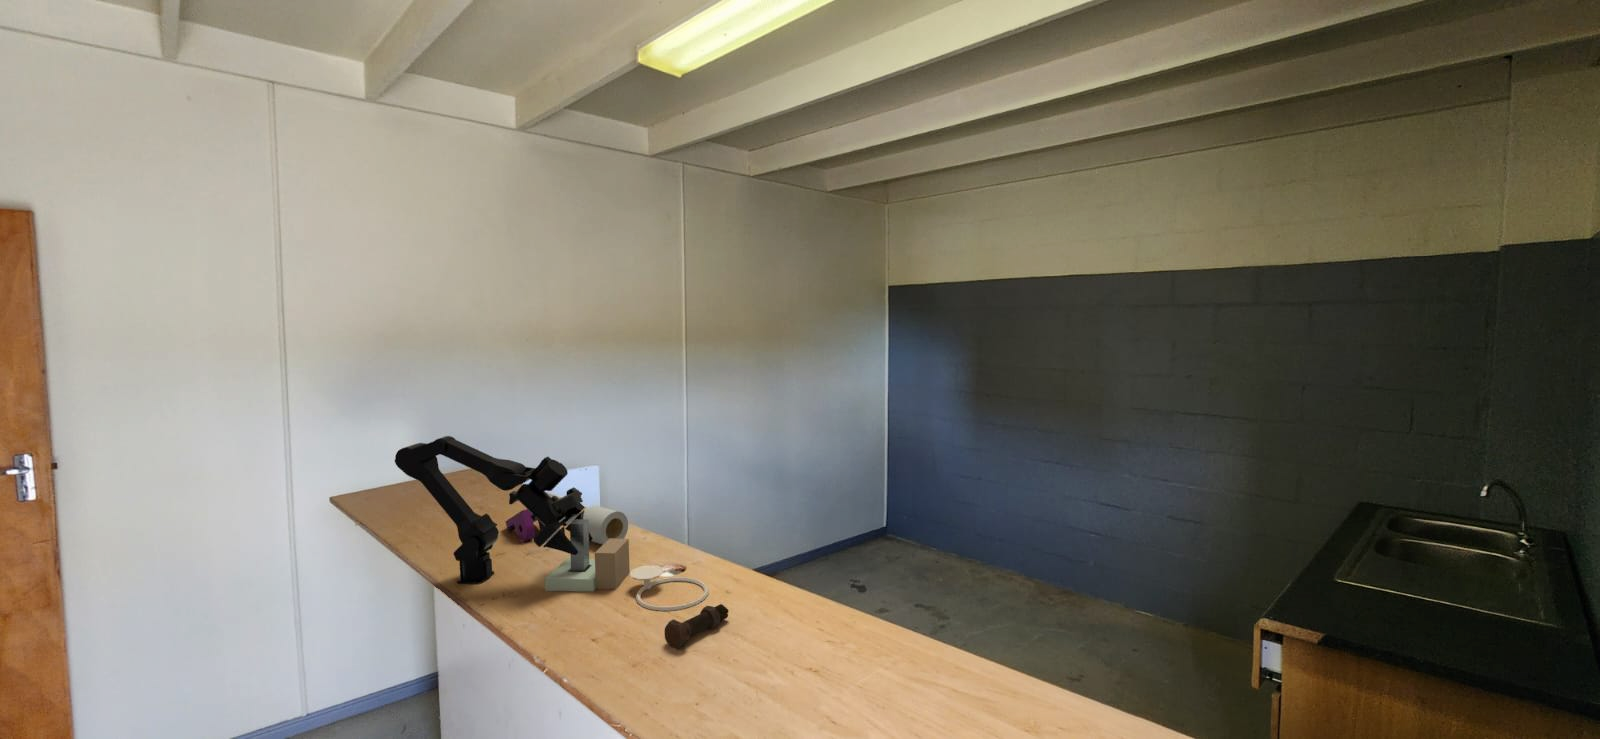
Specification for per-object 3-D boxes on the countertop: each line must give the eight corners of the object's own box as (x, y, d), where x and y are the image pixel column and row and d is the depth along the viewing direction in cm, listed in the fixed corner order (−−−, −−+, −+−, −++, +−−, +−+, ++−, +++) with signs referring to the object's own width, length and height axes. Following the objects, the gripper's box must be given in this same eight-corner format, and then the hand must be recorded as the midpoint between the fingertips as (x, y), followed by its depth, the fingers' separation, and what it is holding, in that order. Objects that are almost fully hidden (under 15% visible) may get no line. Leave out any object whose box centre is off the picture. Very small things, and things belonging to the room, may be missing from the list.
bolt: (726, 628, 141) (675, 655, 129) (712, 611, 143) (660, 637, 131) (736, 609, 139) (685, 635, 127) (722, 592, 141) (670, 616, 129)
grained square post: (571, 582, 161) (569, 523, 159) (576, 576, 164) (575, 519, 163) (584, 582, 161) (583, 524, 159) (589, 577, 164) (588, 519, 163)
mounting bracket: (507, 550, 199) (528, 538, 187) (501, 524, 201) (521, 510, 189) (537, 542, 206) (559, 530, 194) (531, 517, 208) (553, 503, 196)
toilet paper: (578, 544, 188) (577, 510, 187) (606, 534, 196) (605, 502, 195) (600, 551, 182) (599, 516, 181) (628, 540, 190) (627, 507, 189)
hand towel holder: (676, 600, 141) (608, 581, 151) (677, 619, 142) (609, 599, 152) (722, 572, 156) (657, 557, 166) (722, 589, 157) (658, 573, 167)
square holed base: (545, 590, 156) (543, 554, 155) (568, 569, 169) (566, 535, 168) (613, 591, 155) (612, 555, 154) (631, 570, 168) (630, 536, 167)
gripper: (544, 491, 151) (592, 538, 151) (575, 471, 170) (618, 513, 170) (512, 524, 152) (560, 570, 153) (547, 500, 171) (590, 542, 171)
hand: (584, 546), depth 161 cm, fingers open, 9 cm apart
